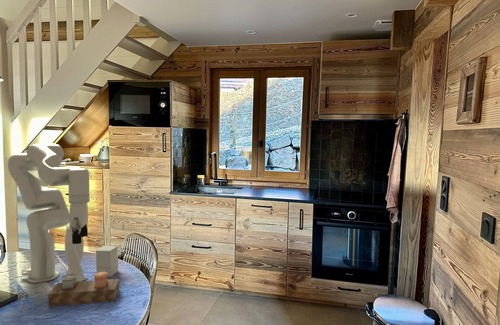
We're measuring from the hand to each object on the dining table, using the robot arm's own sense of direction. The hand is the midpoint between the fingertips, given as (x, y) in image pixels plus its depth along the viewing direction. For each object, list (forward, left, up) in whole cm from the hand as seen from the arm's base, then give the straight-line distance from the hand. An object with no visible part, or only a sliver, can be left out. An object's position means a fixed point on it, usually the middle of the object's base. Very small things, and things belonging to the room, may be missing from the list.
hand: (80, 239), depth 134 cm
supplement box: (+5, +21, -24) cm, 32 cm away
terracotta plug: (+8, -3, -20) cm, 22 cm away
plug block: (+2, -3, -23) cm, 24 cm away
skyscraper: (-7, +14, -24) cm, 28 cm away
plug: (-3, -3, -20) cm, 21 cm away
